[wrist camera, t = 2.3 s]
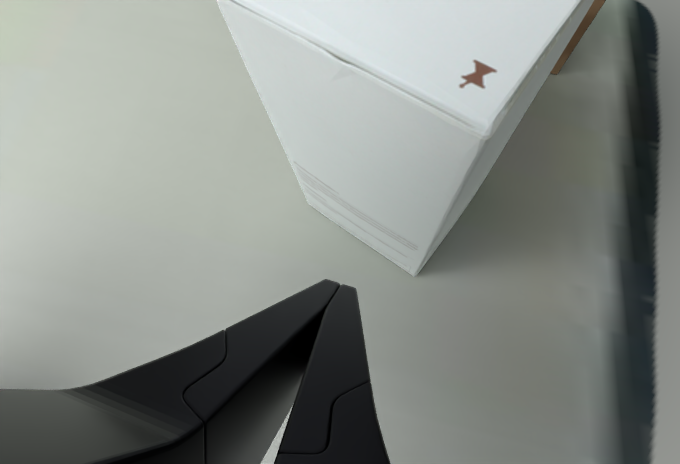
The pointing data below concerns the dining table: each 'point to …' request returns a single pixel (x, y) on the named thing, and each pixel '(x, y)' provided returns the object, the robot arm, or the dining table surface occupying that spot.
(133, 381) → the robot arm
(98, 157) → the dining table surface
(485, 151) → the supplement box
